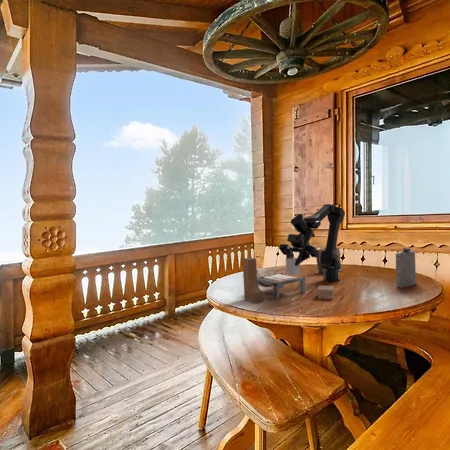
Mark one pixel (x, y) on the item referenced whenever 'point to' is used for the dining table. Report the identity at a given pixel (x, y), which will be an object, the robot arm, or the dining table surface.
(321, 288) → the stand
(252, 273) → the wooden block
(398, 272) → the flask
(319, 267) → the mineral sample
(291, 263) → the gray rectangular block
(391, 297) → the dining table surface
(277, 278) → the trapdoor
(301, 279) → the frame
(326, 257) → the robot arm
